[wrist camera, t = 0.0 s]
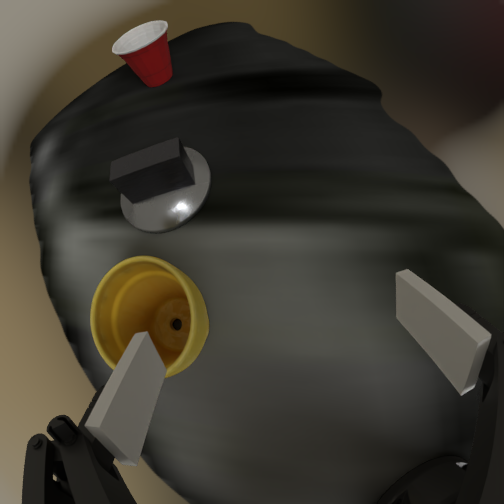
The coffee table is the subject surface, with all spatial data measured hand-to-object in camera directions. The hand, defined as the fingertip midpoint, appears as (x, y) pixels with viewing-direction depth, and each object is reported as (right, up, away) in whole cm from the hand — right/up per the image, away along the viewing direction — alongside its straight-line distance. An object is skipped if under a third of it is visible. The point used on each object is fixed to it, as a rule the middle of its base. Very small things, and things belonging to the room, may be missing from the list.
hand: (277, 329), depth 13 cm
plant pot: (-9, -4, +16) cm, 19 cm away
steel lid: (-13, +12, +22) cm, 28 cm away
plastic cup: (-20, +38, +31) cm, 53 cm away
